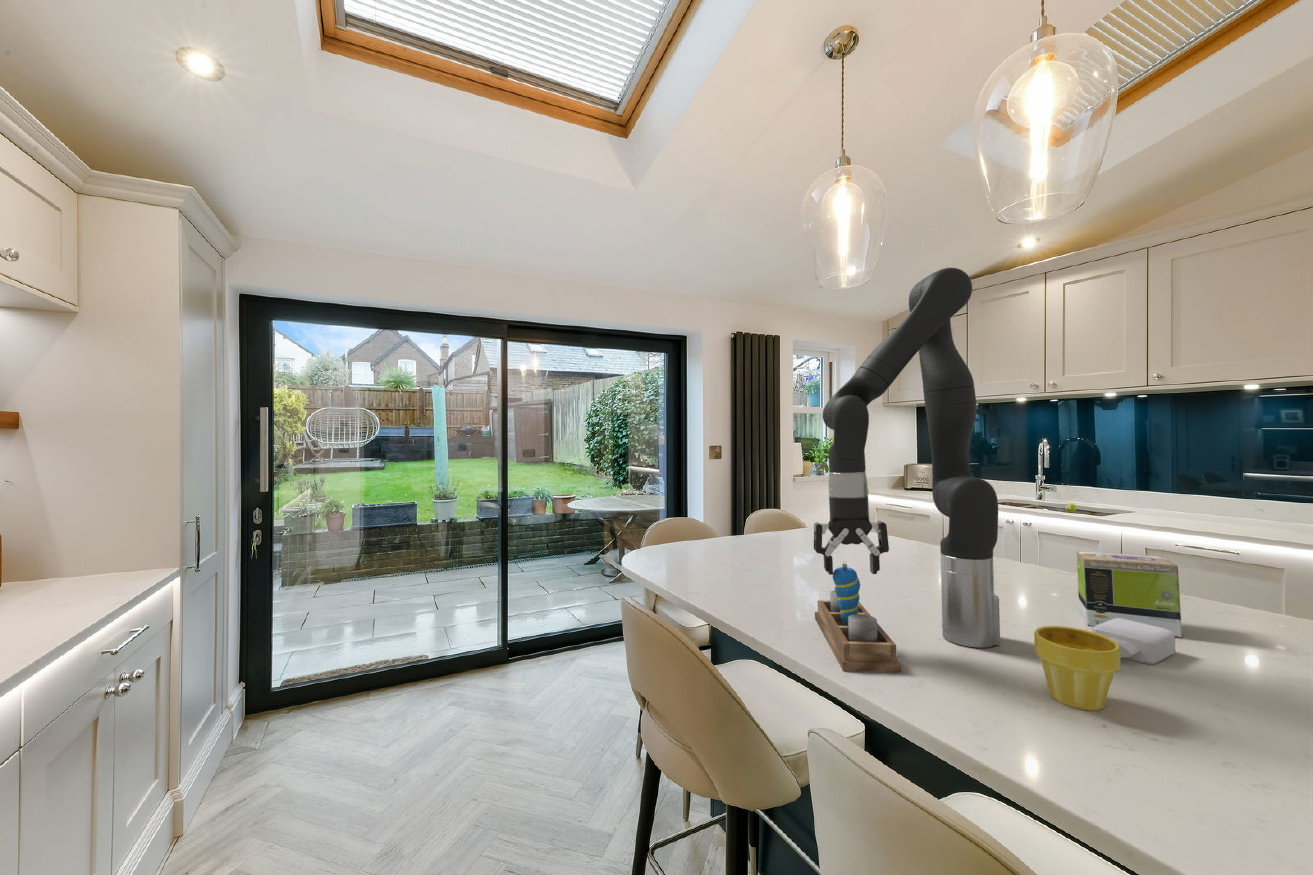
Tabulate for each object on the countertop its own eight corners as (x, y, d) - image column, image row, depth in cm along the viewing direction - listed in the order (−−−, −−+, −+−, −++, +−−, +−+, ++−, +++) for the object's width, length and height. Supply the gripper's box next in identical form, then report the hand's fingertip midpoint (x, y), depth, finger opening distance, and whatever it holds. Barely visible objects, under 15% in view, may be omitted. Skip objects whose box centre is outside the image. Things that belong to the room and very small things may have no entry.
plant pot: (1130, 725, 72) (1128, 656, 72) (1039, 706, 78) (1037, 642, 78) (1113, 694, 81) (1111, 632, 81) (1032, 679, 87) (1031, 621, 87)
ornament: (850, 641, 101) (845, 565, 100) (830, 633, 105) (826, 560, 105) (868, 635, 103) (864, 561, 103) (848, 627, 108) (844, 556, 107)
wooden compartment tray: (859, 619, 117) (859, 586, 117) (901, 672, 90) (900, 630, 90) (814, 618, 118) (814, 585, 118) (842, 670, 91) (841, 628, 91)
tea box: (1167, 623, 111) (1165, 555, 111) (1182, 639, 102) (1180, 565, 102) (1077, 612, 119) (1076, 548, 119) (1085, 626, 110) (1083, 557, 110)
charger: (1076, 655, 96) (1113, 639, 103) (1140, 674, 88) (1175, 656, 95) (1075, 630, 96) (1112, 616, 103) (1139, 647, 88) (1175, 630, 95)
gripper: (878, 491, 107) (882, 568, 107) (809, 493, 109) (812, 569, 109) (890, 495, 100) (894, 578, 99) (815, 497, 101) (819, 578, 101)
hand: (851, 573), depth 104 cm, fingers open, 8 cm apart
